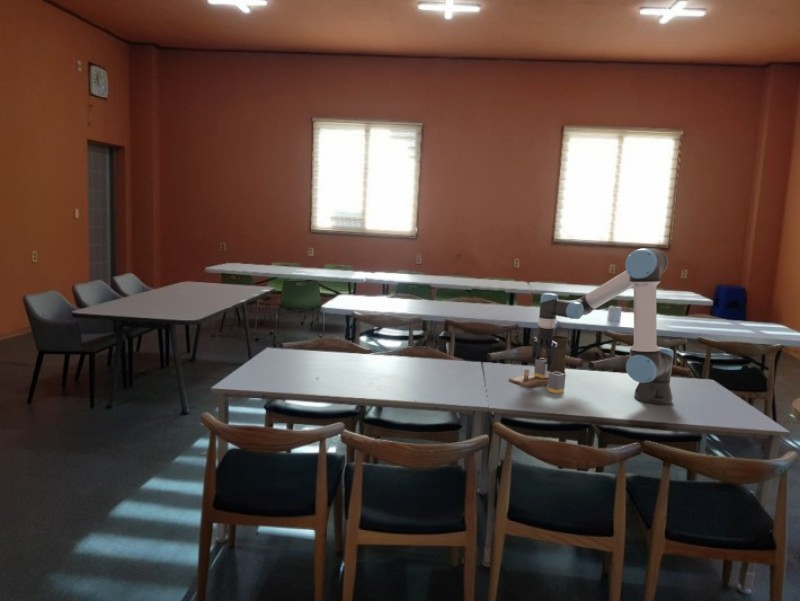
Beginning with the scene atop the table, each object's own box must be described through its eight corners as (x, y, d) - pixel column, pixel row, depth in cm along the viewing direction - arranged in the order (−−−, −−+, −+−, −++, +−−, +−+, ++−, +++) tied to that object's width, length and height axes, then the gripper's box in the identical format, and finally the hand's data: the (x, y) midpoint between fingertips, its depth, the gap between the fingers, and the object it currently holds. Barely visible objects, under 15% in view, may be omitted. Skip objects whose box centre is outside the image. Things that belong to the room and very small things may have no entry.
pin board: (558, 382, 275) (559, 369, 274) (529, 387, 263) (530, 374, 262) (537, 375, 285) (539, 363, 284) (508, 380, 273) (510, 367, 272)
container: (560, 376, 285) (564, 340, 282) (543, 373, 290) (546, 336, 288) (568, 373, 292) (571, 337, 289) (550, 369, 297) (554, 334, 295)
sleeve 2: (563, 392, 260) (565, 374, 259) (556, 393, 257) (558, 375, 256) (554, 388, 264) (556, 371, 263) (547, 390, 261) (549, 372, 260)
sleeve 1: (549, 377, 277) (551, 360, 275) (542, 378, 274) (544, 361, 272) (541, 374, 280) (542, 357, 279) (533, 375, 277) (535, 358, 276)
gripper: (567, 330, 269) (562, 379, 272) (536, 322, 283) (532, 370, 286) (557, 331, 264) (552, 382, 268) (525, 323, 278) (521, 372, 282)
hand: (541, 375), depth 277 cm, fingers closed on sleeve 1, 5 cm apart
